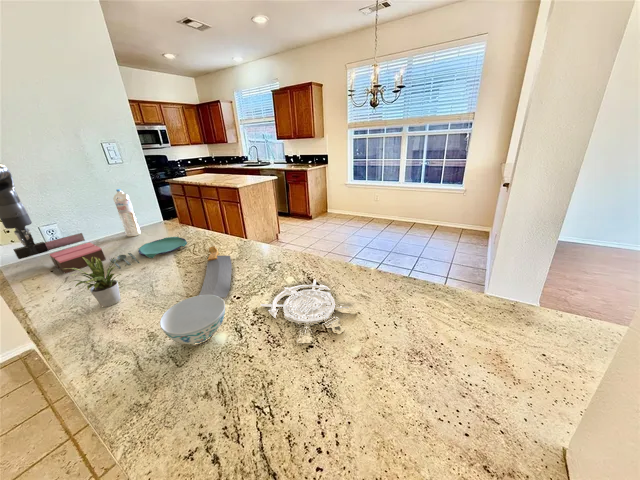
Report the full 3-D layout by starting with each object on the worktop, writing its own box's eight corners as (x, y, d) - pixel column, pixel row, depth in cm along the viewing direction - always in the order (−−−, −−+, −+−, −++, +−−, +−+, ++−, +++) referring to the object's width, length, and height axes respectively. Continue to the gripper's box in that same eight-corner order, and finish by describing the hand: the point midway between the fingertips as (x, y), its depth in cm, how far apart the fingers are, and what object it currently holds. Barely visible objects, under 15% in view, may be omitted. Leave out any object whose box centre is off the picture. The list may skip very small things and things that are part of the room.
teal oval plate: (194, 247, 124) (193, 242, 123) (119, 272, 104) (117, 267, 103) (177, 237, 136) (176, 233, 135) (107, 259, 116) (105, 254, 115)
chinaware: (170, 327, 73) (163, 304, 70) (227, 311, 78) (222, 289, 75) (165, 368, 60) (156, 342, 57) (233, 345, 65) (227, 320, 62)
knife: (19, 259, 107) (14, 250, 105) (17, 258, 108) (13, 249, 106) (85, 240, 123) (82, 232, 122) (83, 239, 125) (80, 232, 123)
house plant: (69, 310, 82) (45, 264, 76) (116, 286, 94) (98, 245, 88) (95, 320, 77) (72, 272, 70) (141, 294, 88) (125, 251, 82)
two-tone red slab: (65, 273, 105) (59, 261, 103) (54, 265, 113) (49, 254, 111) (106, 259, 116) (101, 248, 114) (94, 253, 123) (89, 242, 121)
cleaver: (233, 248, 119) (231, 300, 84) (209, 252, 117) (197, 307, 82) (231, 242, 118) (229, 291, 83) (207, 245, 115) (195, 298, 80)
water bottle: (123, 236, 142) (106, 190, 132) (135, 232, 148) (119, 187, 138) (133, 237, 140) (116, 191, 130) (144, 232, 146) (129, 188, 136)
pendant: (309, 277, 94) (309, 273, 93) (370, 314, 74) (370, 310, 73) (254, 301, 82) (254, 298, 81) (309, 355, 61) (309, 350, 61)
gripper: (-5, 214, 105) (16, 253, 111) (3, 219, 97) (25, 261, 104) (22, 209, 110) (40, 247, 117) (31, 214, 103) (50, 254, 110)
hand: (33, 253), depth 110 cm, fingers closed on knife, 2 cm apart
